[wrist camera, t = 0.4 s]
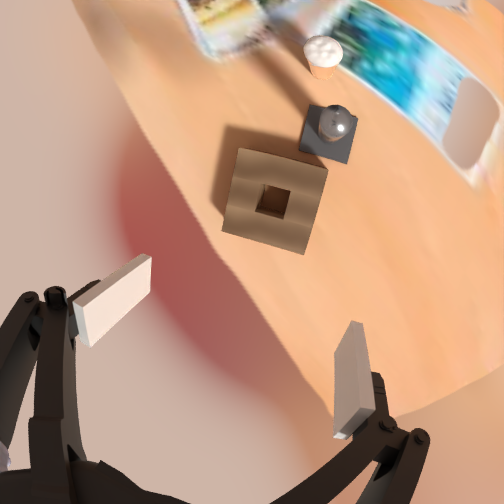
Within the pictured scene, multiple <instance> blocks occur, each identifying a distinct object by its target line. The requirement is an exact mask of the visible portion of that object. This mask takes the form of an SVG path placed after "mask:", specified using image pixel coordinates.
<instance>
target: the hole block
mask: <svg viewBox="0 0 504 504" xmlns="http://www.w3.org/2000/svg"><path fill="white" fill-rule="evenodd" d="M327 174H328V169H326V168H322V167H319V166H316V165H312V164H308V163H305V162H301V161H297V160H294V159H290V158H286V157H282V156H278V155H274V154H270V153H265V152H261V151H257V150H252V149H247V148H239V149H238V154H237V158H236V163H235V167H234V172H233V177H232V182H231V186H230V191H229V196H228V201H227V206H226V211H225V216H224V221H223V226H222V232H226V233H229V234H233V235H236V236H240V237H243V238H247V239H250V240H254V241H257V242H261V243H264V244H267V245H271V246H274V247H278V248H281V249H285V250H288V251H291V252H295V253H298V254H301V255H304V253H305V250H306V247H307V244H308V240H309V237H310V234H311V230H312V227H313V224H314V220H315V217H316V213H317V210H318V207H319V203H320V200H321V196H322V192H323V189H324V185H325V181H326V178H327ZM265 185H270V186H274V187H278V188H282V189H285V190H289V191H291V192H290V196H289V200H288V204H287V208H286V211H285V213H282V212H279V211H275V210H272V209H268V208H264V207H261V202H262V198H263V193H264V189H265Z"/></svg>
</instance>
